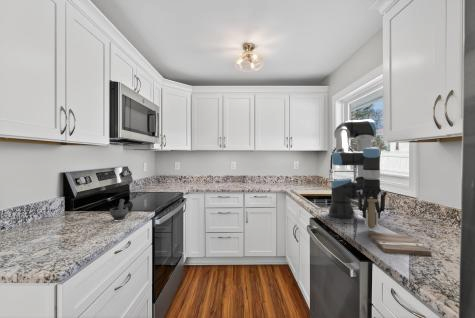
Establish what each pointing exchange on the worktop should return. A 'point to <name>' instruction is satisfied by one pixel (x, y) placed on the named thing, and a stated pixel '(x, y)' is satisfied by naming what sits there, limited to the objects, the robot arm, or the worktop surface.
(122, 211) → the mortar and pestle
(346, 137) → the robot arm
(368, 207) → the handle
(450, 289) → the worktop surface
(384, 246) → the board
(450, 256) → the worktop surface
